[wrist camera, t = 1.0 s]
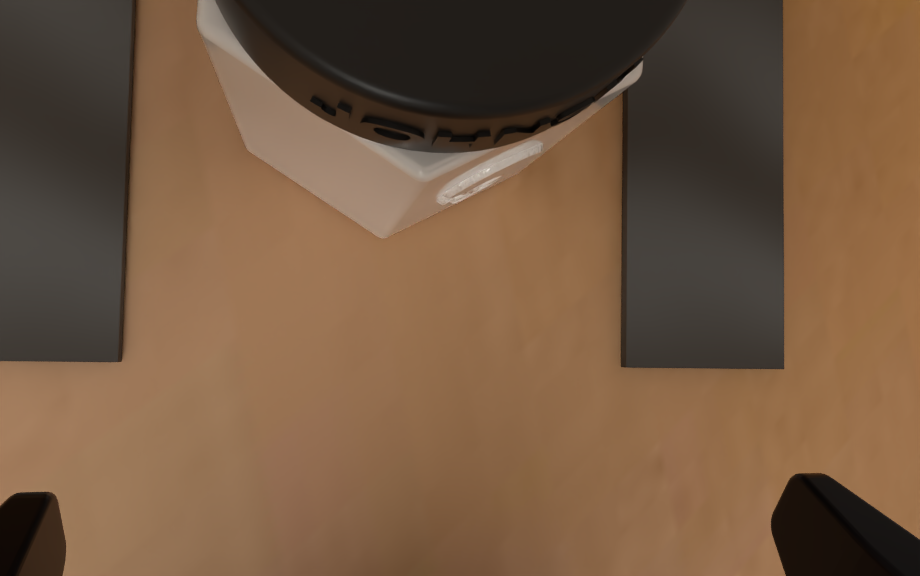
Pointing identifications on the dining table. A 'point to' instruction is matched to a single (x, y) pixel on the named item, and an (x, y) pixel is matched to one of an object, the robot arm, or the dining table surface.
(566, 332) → the dining table surface
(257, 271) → the dining table surface
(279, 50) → the jar
